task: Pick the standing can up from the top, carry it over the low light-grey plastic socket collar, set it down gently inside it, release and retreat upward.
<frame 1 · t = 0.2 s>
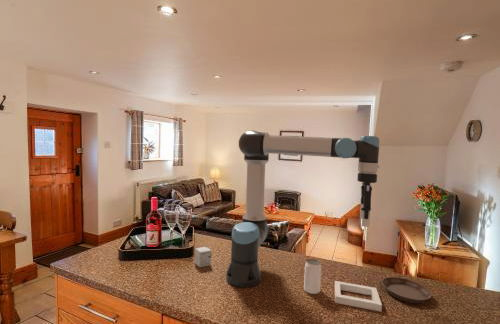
hand: (364, 222, 115), 28 cm above the kitchen counter, tool pointing down, fingers open, 13 cm apart
skincare box: (202, 264, 131), on the kitchen counter
plant saucer: (405, 294, 112), on the kitchen counter
can: (311, 290, 111), on the kitchen counter
socket collar: (356, 298, 106), on the kitchen counter
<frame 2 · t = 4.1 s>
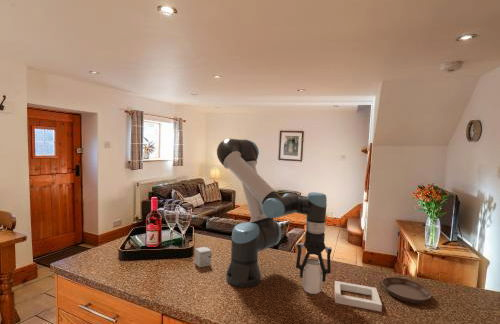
hand: (312, 286, 111), 1 cm above the kitchen counter, tool pointing down, fingers closed on can, 6 cm apart
can: (311, 290, 111), on the kitchen counter, touching gripper
everything else where it was.
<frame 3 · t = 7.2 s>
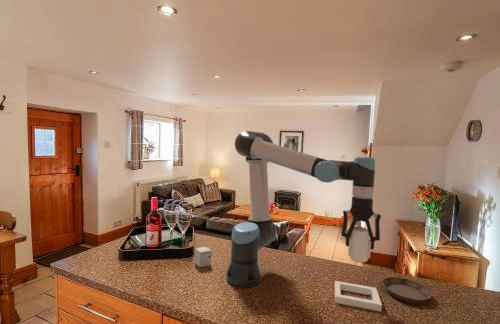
hand: (358, 255, 106), 17 cm above the kitchen counter, tool pointing down, fingers closed on can, 6 cm apart
can: (358, 259, 106), point 15 cm above the kitchen counter, touching gripper
everything else where it was.
when the fingers open (2 cm above the kitchen counter, at t = 10.1 s): can stays where it is, resting in socket collar.
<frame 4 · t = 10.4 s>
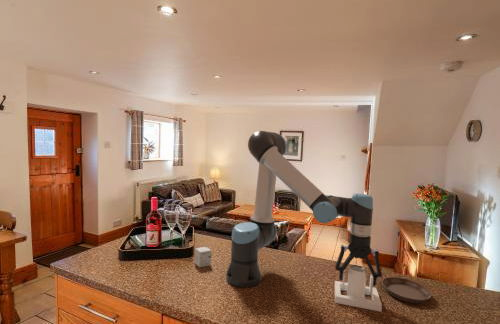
hand: (356, 290, 106), 3 cm above the kitchen counter, tool pointing down, fingers open, 9 cm apart
can: (355, 298, 106), resting in socket collar
everything else where it was.
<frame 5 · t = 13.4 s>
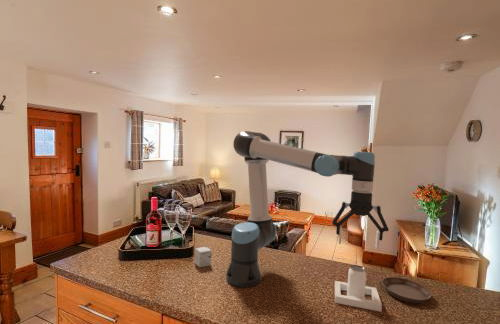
hand: (357, 245, 106), 21 cm above the kitchen counter, tool pointing down, fingers open, 13 cm apart
nothing on the kitchen counter moved.
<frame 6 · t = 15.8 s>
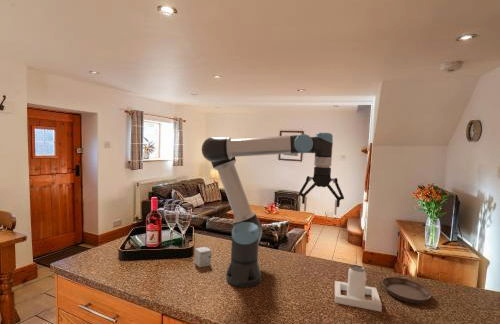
hand: (319, 212, 125), 29 cm above the kitchen counter, tool pointing down, fingers open, 13 cm apart
nothing on the kitchen counter moved.
at the end: can 0.2 cm from the socket collar (horizontally); can tilted 0°; the gripper is holding nothing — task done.
